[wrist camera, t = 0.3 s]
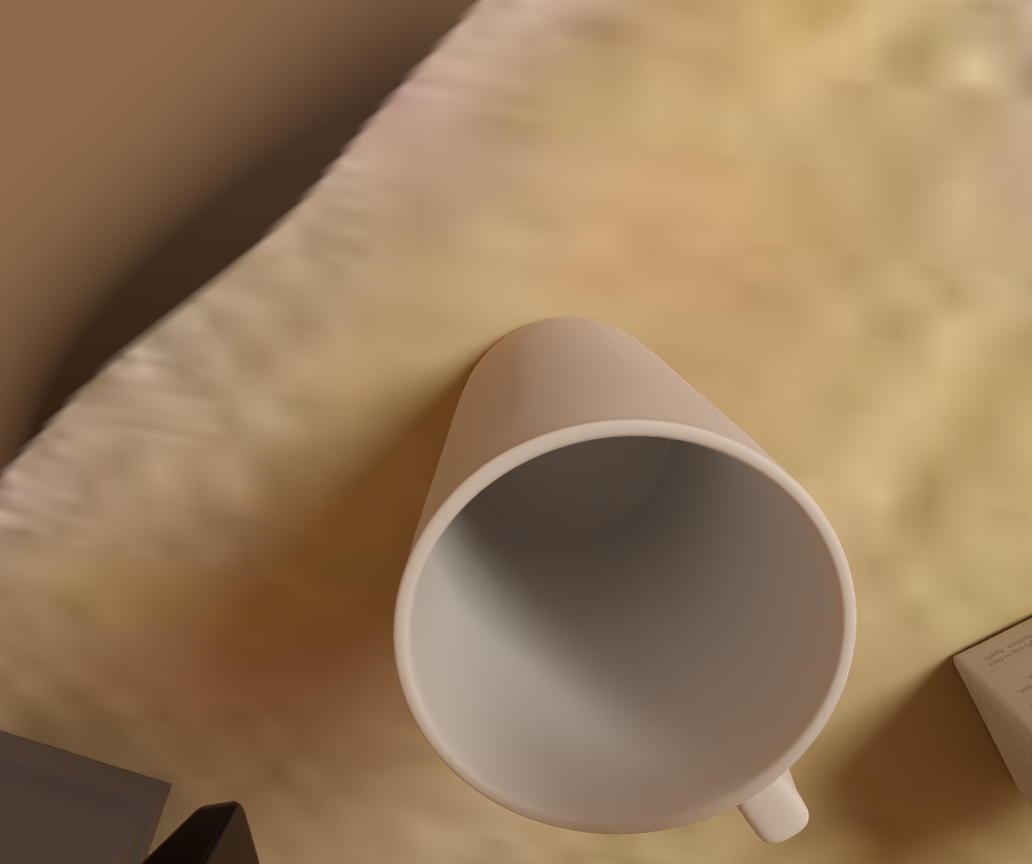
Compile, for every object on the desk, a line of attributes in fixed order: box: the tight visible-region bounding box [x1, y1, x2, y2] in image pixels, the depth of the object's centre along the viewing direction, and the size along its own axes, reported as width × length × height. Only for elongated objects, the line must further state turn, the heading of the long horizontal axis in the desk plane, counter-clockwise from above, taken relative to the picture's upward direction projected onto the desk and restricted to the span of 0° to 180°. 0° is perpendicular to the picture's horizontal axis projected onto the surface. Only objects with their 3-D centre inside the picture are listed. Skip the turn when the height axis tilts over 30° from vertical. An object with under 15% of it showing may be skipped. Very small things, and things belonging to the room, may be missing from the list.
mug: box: [393, 317, 856, 844], centre depth 18 cm, size 10×7×12 cm, turn 35°
